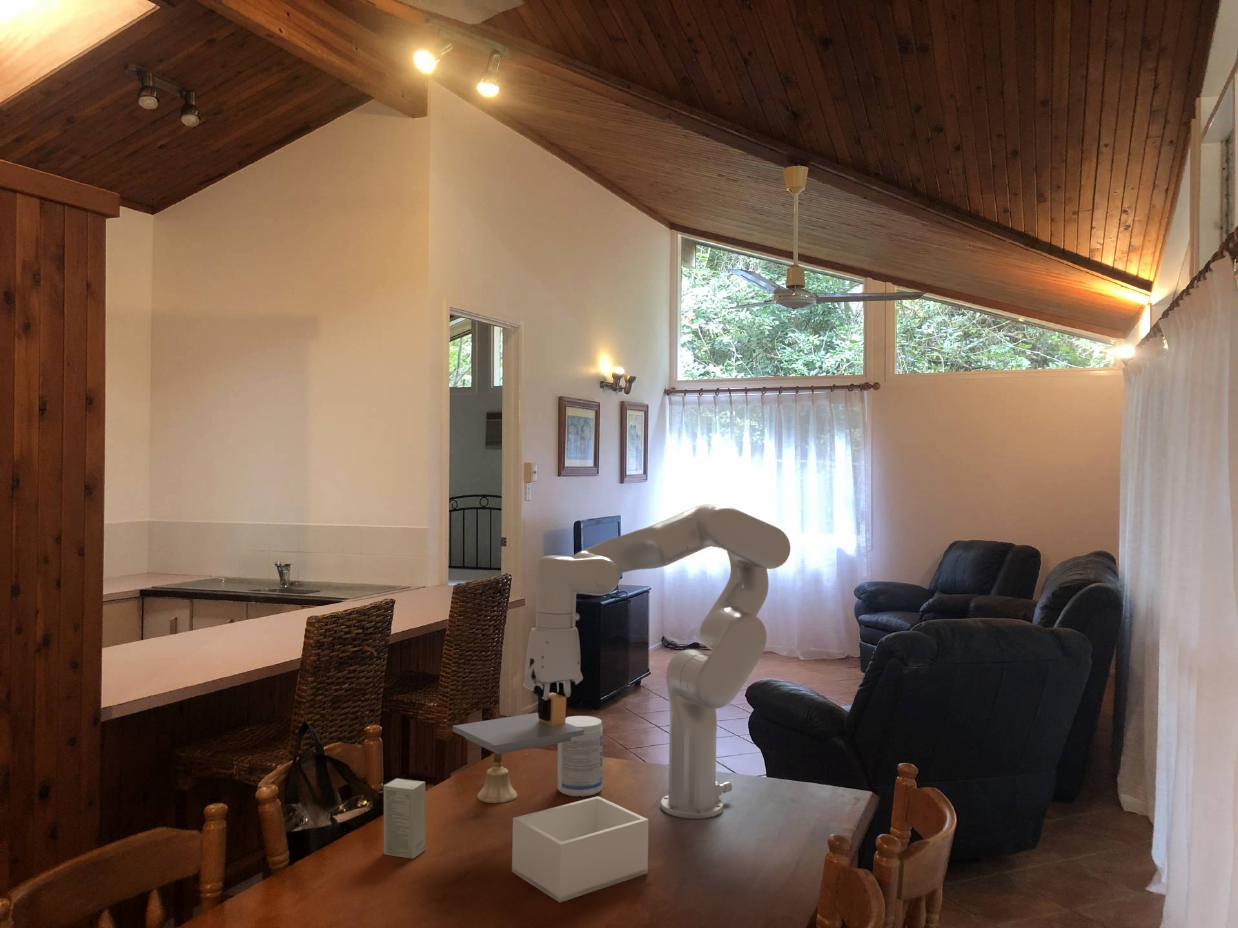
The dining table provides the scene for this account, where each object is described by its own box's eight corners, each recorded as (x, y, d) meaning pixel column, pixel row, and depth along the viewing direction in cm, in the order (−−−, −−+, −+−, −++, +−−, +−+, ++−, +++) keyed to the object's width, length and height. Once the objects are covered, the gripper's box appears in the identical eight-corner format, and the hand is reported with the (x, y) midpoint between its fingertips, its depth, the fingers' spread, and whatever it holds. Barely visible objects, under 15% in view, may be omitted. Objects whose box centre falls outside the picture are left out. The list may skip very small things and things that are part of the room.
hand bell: (470, 794, 191) (471, 717, 192) (504, 787, 196) (506, 712, 197) (489, 806, 185) (490, 726, 185) (524, 798, 190) (526, 720, 190)
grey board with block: (538, 723, 181) (539, 686, 181) (583, 741, 169) (585, 702, 170) (452, 737, 169) (453, 698, 169) (494, 758, 158) (496, 715, 158)
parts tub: (597, 846, 165) (598, 795, 166) (647, 873, 154) (648, 819, 155) (511, 871, 154) (512, 817, 154) (559, 902, 143) (560, 844, 143)
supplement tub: (610, 792, 194) (611, 722, 194) (571, 801, 188) (572, 729, 189) (586, 779, 202) (587, 712, 202) (548, 787, 197) (549, 718, 197)
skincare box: (426, 850, 162) (427, 781, 163) (412, 859, 158) (414, 789, 158) (395, 845, 165) (396, 776, 165) (381, 854, 160) (382, 784, 161)
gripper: (578, 615, 182) (575, 708, 182) (508, 621, 172) (504, 719, 172) (601, 620, 177) (598, 716, 176) (530, 626, 166) (526, 728, 166)
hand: (552, 717), depth 174 cm, fingers closed on grey board with block, 3 cm apart
